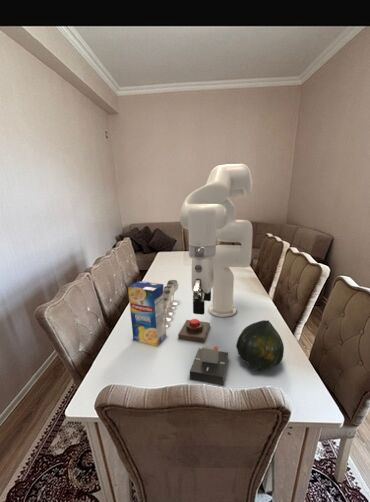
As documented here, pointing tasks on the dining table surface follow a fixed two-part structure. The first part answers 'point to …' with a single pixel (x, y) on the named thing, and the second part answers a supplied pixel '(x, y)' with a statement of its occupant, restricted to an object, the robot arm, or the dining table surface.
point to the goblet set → (169, 298)
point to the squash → (260, 346)
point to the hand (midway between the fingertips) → (202, 306)
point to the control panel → (209, 369)
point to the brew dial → (210, 354)
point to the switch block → (194, 332)
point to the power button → (194, 322)
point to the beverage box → (147, 312)
